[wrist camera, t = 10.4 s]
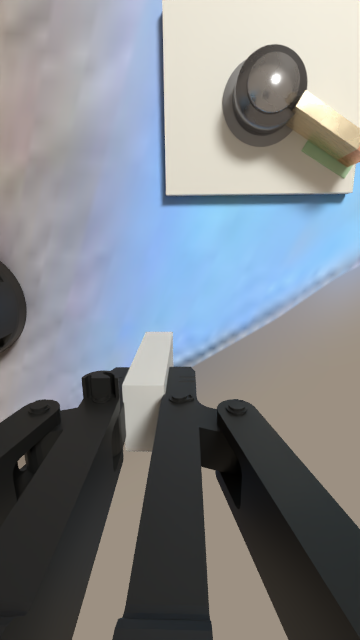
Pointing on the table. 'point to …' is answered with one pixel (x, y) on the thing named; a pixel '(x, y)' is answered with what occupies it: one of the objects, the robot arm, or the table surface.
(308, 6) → the board
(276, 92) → the peg dial
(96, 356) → the table surface
